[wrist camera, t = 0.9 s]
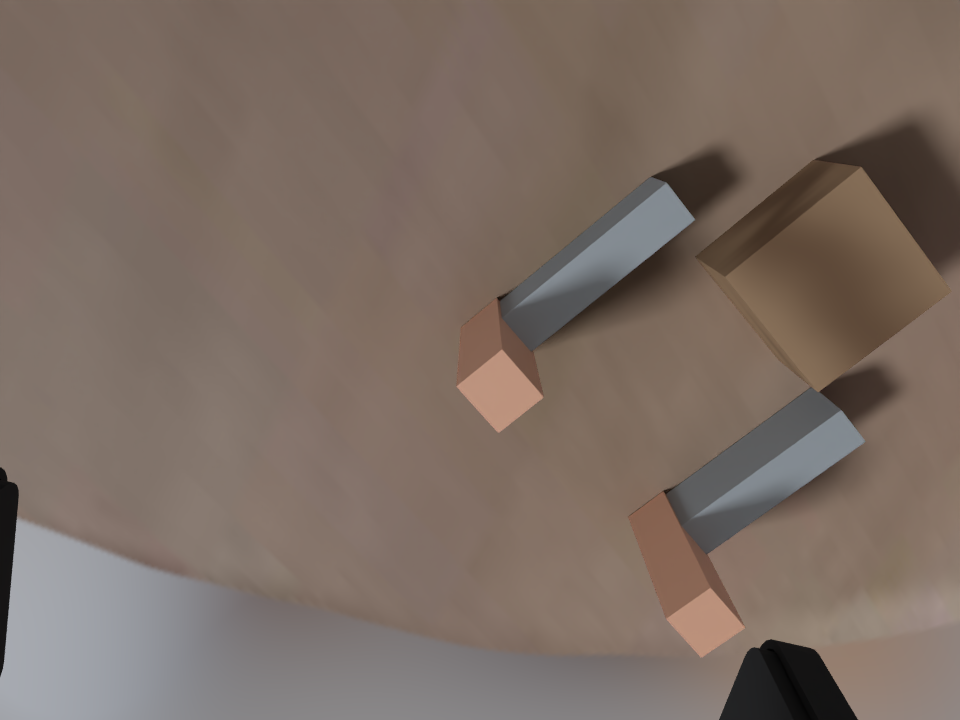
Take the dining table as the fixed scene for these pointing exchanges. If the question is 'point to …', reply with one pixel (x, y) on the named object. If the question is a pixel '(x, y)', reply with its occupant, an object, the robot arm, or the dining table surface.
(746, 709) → the robot arm
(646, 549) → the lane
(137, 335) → the dining table surface
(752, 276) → the walnut block
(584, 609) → the dining table surface
